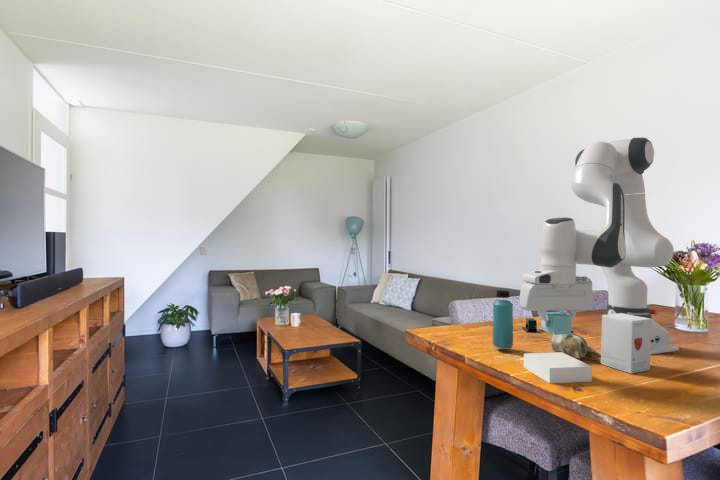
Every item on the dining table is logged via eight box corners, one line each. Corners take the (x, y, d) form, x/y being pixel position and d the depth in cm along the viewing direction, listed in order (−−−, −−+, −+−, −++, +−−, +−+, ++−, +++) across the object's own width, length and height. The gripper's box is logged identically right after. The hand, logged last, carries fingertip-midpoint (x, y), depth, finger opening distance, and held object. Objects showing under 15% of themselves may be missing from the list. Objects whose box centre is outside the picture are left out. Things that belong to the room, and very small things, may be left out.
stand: (561, 365, 111) (561, 352, 111) (591, 381, 99) (592, 366, 99) (523, 367, 109) (523, 353, 109) (549, 383, 98) (549, 368, 98)
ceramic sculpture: (567, 323, 128) (607, 337, 113) (566, 348, 128) (605, 365, 114) (541, 325, 125) (579, 340, 110) (540, 350, 125) (577, 368, 111)
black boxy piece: (545, 336, 147) (546, 323, 146) (524, 335, 148) (524, 322, 148) (536, 327, 160) (536, 316, 159) (516, 326, 161) (517, 315, 161)
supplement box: (631, 374, 104) (632, 320, 104) (599, 364, 113) (600, 314, 112) (651, 370, 108) (652, 318, 108) (619, 360, 116) (620, 312, 116)
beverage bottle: (514, 354, 122) (515, 292, 121) (493, 352, 123) (494, 291, 123) (511, 348, 128) (511, 289, 128) (490, 346, 129) (491, 288, 129)
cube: (558, 329, 107) (559, 312, 107) (570, 334, 102) (571, 315, 102) (542, 330, 106) (542, 312, 106) (553, 334, 101) (554, 316, 101)
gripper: (583, 275, 108) (582, 323, 109) (517, 274, 106) (516, 324, 106) (600, 277, 102) (599, 328, 102) (530, 277, 100) (528, 329, 100)
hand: (556, 326), depth 104 cm, fingers closed on cube, 5 cm apart
